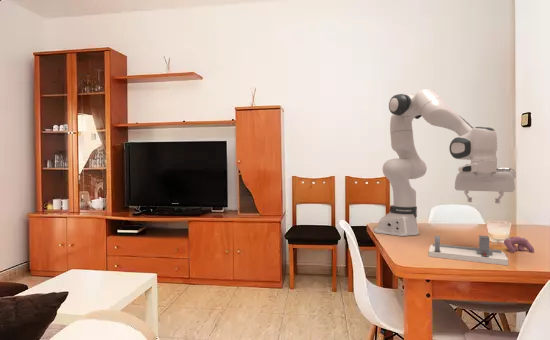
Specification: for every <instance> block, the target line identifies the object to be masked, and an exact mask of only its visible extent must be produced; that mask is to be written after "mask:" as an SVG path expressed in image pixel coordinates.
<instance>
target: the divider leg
mask: <svg viewBox="0 0 550 340" xmlns="http://www.w3.org/2000/svg"><path fill="white" fill-rule="evenodd" d="M478 242H479V243H478V247H477V246H476V247H475V248H476V252H477V254H484V255H485V256H486V255H492V250H491V249H492V248H490V236H489V235H478Z"/></svg>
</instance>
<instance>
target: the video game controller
mask: <svg viewBox="0 0 550 340" xmlns="http://www.w3.org/2000/svg"><path fill="white" fill-rule="evenodd" d="M503 245H504V246H505V247H506V249H507V250H508V251H509V252H510V253H512V254H514V253H515V252H516V251H517V250H518V251H520V252H523V251H524V250H525V249H526V250H528V251H529V252H530V253H534V252H535V248H534V247H533V245H532V244H531V243H530V242H529V240H528V239H526V237H520V236H511V237H508V238H505V239H504V240H503ZM516 245H517V246H516Z"/></svg>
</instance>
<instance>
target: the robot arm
mask: <svg viewBox="0 0 550 340" xmlns="http://www.w3.org/2000/svg"><path fill="white" fill-rule="evenodd" d="M388 110H389V112H390V113H391V117H390V122H389V133H390V146H391V149H392V150H393V151H394V152H396V154H397V156H398V157H399V158H391V159H388V160H386V161H385V162H384V163H383V165H382V173H383V175H384V177H385V178H386V179H388V181H389V183H390V185H391V188H392V198H393V204H391V205H390V206H389V208H388V210H389V212H388V213H386V214H385V215H384V216H383V217H381V218H380V219H379V221H378V224H377V225H378V226H377V227H375V228H373V232H374V233H375V234H382V235H388V236H389V235H390V236H399V237H407V236H417V235H419V234H420V230H419V227H418V221H417V217H418V206H417V192H416V190H415V189H414V188H413V187H412V186H411V184H410V180H416V179H419V178H421V177H423V176H425V175H426V173H427V164H426V163H425V161H424V160H423V159H422V158H420V155H419V154H418V152H417V150H416V146H415V140H414V132H413V131H414V130H413V125H412V124H413V121H414V119H416V120H418V119H420V118H421V117H422V118H423V119H424V120H425V121H426V123H429V125H431V126H433V127H440V128H444V129H446V130H447V129H448V130H450V131H452V132H455V133H456V134H457V136H458V137H455V138H453V139H452V141H450V142H449V143H450V144H449V147H448V149H449V150H448V151H449V153H450V155H451V157H452V158H453V159H456V160H467V161H468V160H470V163H469V164H465V165H462V166H459V167H458V173H457V174H456V176H455V181H454V189H455V190H456V191H462V192H463V191H464V195H465V196H466V198H467V203H472V202H473V201H472V200H473V198H472V196H471V197H469V195H468V194H469V192H498V197H497V198H494V200H495V201H494V203H495V204H501V199H502V198H503V196H504V195H505V193H514V191H515V190H516V185H515V184H516V183H515V180H514V179H516V174H517V173H516V170H515V169H513V168H511V167H498V158H497V151H498V137H497V136H498V135H497V132H496V130H495V129H494V128H492V127H485V126H484V127H483V126H475V127H473V126H472V125H471V124H470V123H469V122H467V121H466V120H465V119H464V118H463V117H462V116H461V115H459V114H458V113H457V112H456V111H454V109H452V108H451V107H450V106H449V105H448V104H447V103H446V102H445V101H444V100H443V99H442V98H441V97H440V96H439V94H437V93H436V92H435V91H433V90H431V89H429V88H423V89H420V90H419V91H417V92H416V93H406V94H405V93H404V94H403V93H399V94H394V95H393V96H392V97H391V98H390V99H389V102H388Z"/></svg>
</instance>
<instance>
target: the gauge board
mask: <svg viewBox="0 0 550 340" xmlns="http://www.w3.org/2000/svg"><path fill="white" fill-rule="evenodd" d="M490 249H491V250H492V255H486V256H485V255H484V254H477V252H476V247H472V246H463V245H461V246H460V245H452V244H444V243H443V244H441V236H440V235H434V243H432V244H430V246H429V249H428V257H430V258H437V259H438V258H440V259H448V260H456V261H457V260H458V261H465V262H466V261H467V262H475V263H485V264H492V265H500V266H509V258H508V257H507V255H506V253H505V252H504V251H502V250H501V249H495V248H494V249H493V248H490Z"/></svg>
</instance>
